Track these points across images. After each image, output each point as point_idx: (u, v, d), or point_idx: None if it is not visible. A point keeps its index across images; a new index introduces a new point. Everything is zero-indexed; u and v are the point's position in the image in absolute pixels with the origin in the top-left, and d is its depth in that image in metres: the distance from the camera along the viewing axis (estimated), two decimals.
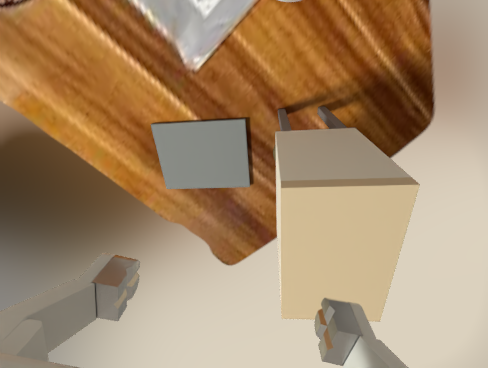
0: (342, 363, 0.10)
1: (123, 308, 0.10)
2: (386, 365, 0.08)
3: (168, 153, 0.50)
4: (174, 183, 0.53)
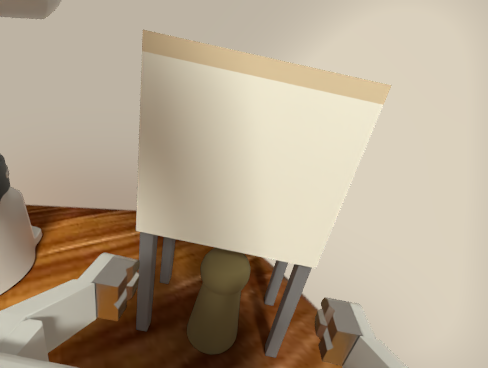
0: (342, 363, 0.10)
1: (123, 308, 0.10)
2: (386, 365, 0.08)
3: None
4: None
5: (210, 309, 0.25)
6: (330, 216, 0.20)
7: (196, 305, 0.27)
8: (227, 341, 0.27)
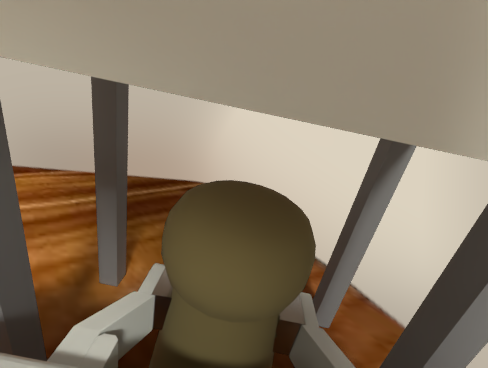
0: (289, 353, 0.10)
1: None
2: (323, 352, 0.08)
3: None
4: None
5: (192, 364, 0.08)
6: None
7: (158, 344, 0.10)
8: None
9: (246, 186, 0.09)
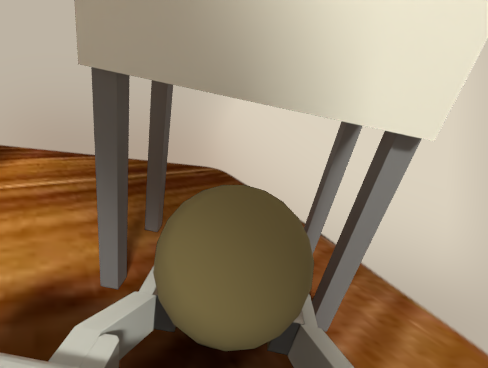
0: (288, 352, 0.10)
1: None
2: (321, 352, 0.08)
3: None
4: None
5: None
6: None
7: None
8: None
9: (242, 214, 0.07)
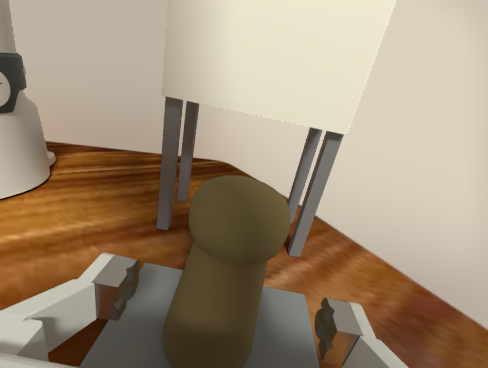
0: (342, 363, 0.10)
1: (123, 308, 0.10)
2: (386, 365, 0.08)
3: None
4: None
5: (205, 295, 0.12)
6: (365, 66, 0.19)
7: (179, 287, 0.14)
8: (237, 358, 0.14)
9: (246, 180, 0.13)
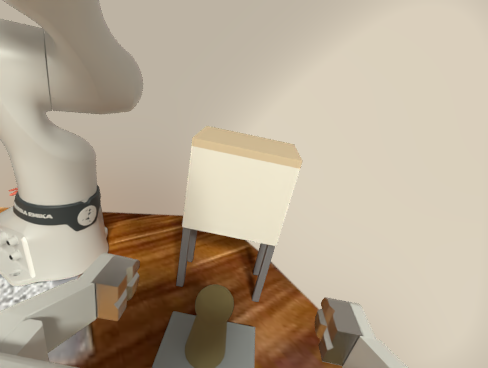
0: (342, 363, 0.10)
1: (123, 308, 0.10)
2: (386, 365, 0.08)
3: None
4: None
5: (201, 335, 0.33)
6: (281, 218, 0.39)
7: (192, 331, 0.35)
8: (216, 360, 0.35)
9: (217, 289, 0.34)
